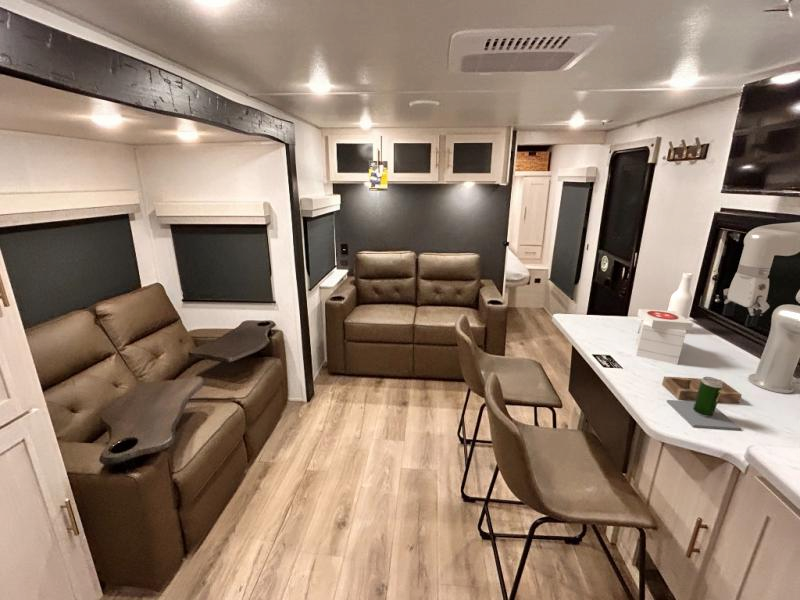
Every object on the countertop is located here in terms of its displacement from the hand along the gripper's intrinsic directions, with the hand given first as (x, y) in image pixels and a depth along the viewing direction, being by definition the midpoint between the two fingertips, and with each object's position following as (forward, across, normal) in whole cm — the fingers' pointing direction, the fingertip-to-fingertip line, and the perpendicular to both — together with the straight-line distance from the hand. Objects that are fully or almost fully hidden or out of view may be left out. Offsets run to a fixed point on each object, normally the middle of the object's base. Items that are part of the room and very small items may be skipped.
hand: (738, 320), depth 126 cm
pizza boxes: (+30, +38, 0) cm, 48 cm away
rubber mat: (+28, -14, +14) cm, 34 cm away
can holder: (+28, 0, +6) cm, 29 cm away
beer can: (+28, -14, +14) cm, 34 cm away
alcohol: (+31, +64, -23) cm, 74 cm away
